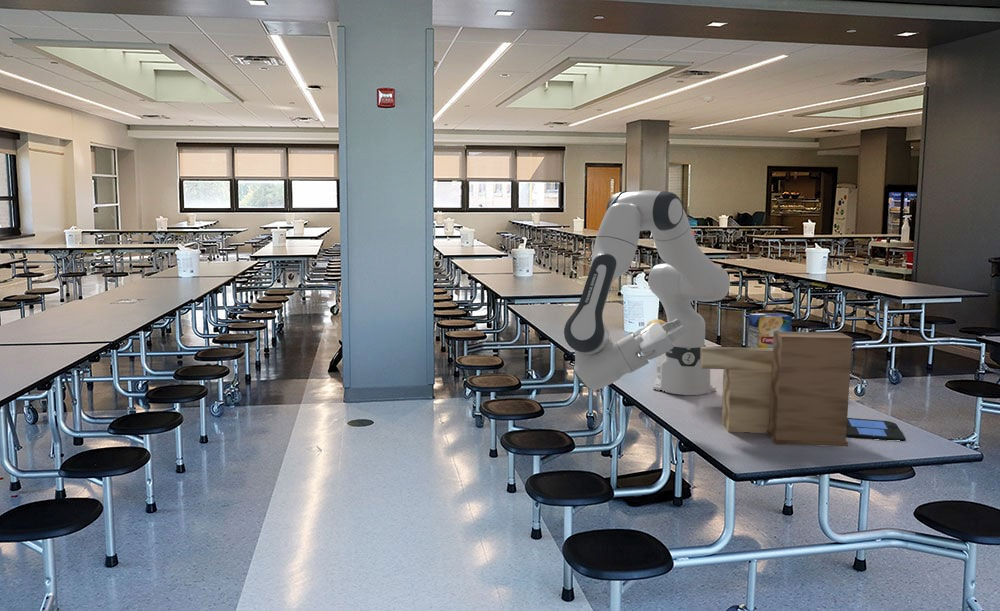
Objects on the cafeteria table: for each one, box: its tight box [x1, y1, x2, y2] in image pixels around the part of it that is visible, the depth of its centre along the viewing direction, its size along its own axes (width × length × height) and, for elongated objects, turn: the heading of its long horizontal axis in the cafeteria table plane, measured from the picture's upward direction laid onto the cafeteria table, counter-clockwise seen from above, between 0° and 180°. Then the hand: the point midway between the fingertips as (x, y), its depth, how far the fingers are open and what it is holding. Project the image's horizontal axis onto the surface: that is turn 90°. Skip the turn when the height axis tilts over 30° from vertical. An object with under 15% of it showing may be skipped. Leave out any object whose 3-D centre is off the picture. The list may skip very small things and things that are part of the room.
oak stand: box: [721, 369, 772, 434], centre depth 198 cm, size 9×22×17 cm, turn 85°
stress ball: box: [646, 318, 668, 334], centre depth 317 cm, size 10×10×10 cm
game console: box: [846, 417, 907, 442], centre depth 196 cm, size 14×13×2 cm
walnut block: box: [765, 331, 853, 448], centre depth 187 cm, size 8×17×26 cm, turn 85°
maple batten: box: [700, 346, 773, 370], centre depth 197 cm, size 4×20×5 cm, turn 85°
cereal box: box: [747, 312, 793, 348], centre depth 248 cm, size 7×11×22 cm, turn 100°
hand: (682, 324), depth 197 cm, fingers open, 8 cm apart
